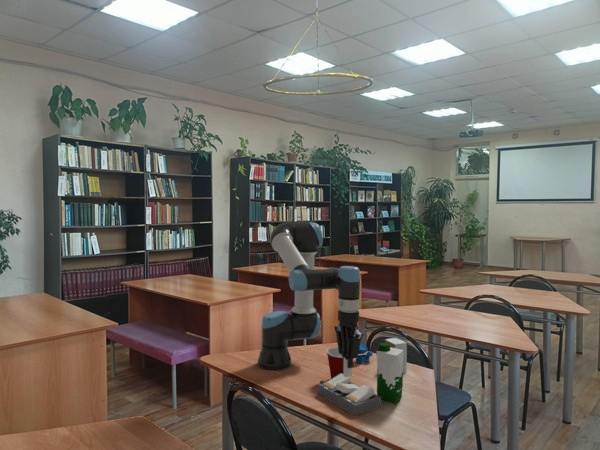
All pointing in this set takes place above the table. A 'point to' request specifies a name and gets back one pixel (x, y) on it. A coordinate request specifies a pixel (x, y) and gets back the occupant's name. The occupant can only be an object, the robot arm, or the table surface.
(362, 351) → the blue toy figurine
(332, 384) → the rocker
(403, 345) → the small box
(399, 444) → the table surface
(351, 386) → the rocker
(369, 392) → the rocker
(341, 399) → the grey compartment tray
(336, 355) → the plastic cup
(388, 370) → the milk carton
